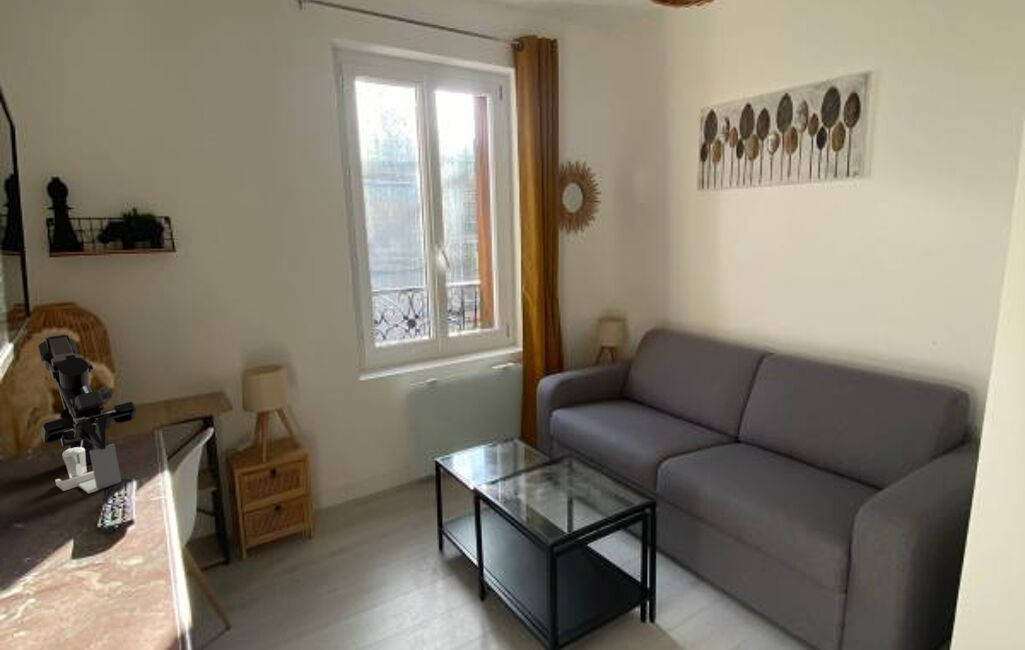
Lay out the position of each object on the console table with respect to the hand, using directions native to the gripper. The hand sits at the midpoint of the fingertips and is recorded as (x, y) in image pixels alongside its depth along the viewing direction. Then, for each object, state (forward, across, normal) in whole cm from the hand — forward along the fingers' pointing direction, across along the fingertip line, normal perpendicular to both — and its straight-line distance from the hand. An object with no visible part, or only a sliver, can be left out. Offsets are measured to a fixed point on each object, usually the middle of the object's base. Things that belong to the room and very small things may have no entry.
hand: (103, 448), depth 134 cm
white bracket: (+2, -2, +13) cm, 13 cm away
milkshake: (-1, -3, +16) cm, 16 cm away
